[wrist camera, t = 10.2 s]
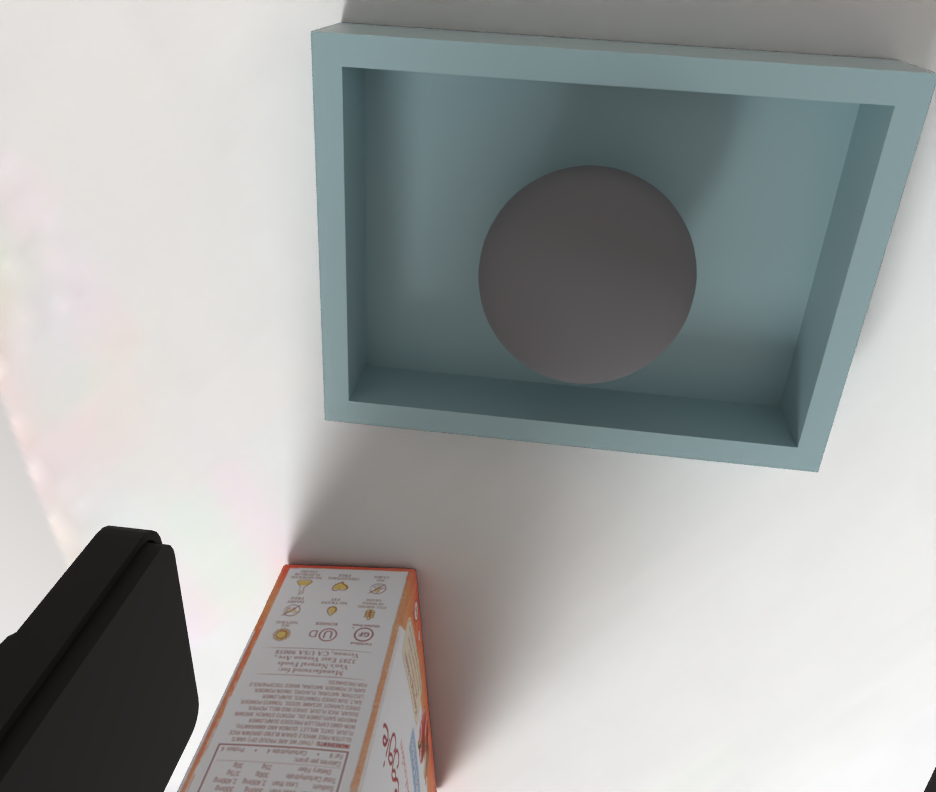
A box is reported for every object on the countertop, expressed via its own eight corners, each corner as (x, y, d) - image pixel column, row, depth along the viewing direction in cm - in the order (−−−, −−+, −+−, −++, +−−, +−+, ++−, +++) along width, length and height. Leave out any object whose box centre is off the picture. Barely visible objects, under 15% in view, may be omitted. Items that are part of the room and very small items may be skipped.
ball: (497, 135, 25) (470, 188, 19) (702, 152, 24) (732, 210, 19) (484, 321, 27) (459, 410, 22) (667, 339, 27) (685, 435, 22)
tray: (293, -120, 22) (256, -129, 20) (986, -83, 21) (1045, -88, 18) (314, 375, 30) (288, 415, 27) (831, 427, 28) (857, 476, 26)
